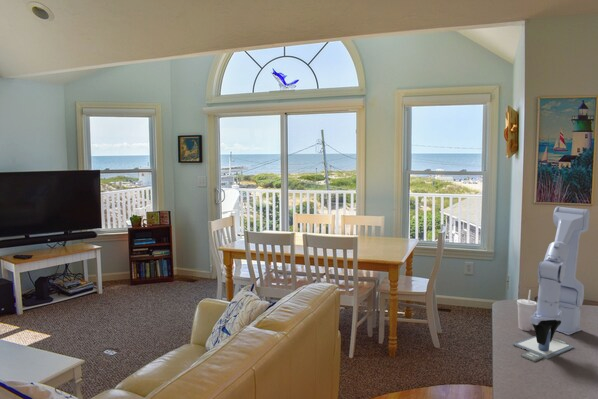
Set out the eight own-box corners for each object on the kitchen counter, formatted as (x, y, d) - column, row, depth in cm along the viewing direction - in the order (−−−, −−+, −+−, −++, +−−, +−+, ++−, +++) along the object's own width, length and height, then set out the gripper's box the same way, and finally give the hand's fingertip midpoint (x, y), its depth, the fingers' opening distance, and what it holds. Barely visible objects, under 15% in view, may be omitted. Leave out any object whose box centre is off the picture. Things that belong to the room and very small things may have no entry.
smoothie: (537, 333, 156) (541, 293, 154) (517, 331, 157) (520, 291, 156) (531, 326, 162) (535, 288, 161) (512, 324, 163) (515, 286, 162)
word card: (530, 352, 140) (530, 350, 140) (543, 357, 137) (543, 356, 137) (521, 356, 137) (521, 354, 137) (534, 361, 134) (534, 359, 134)
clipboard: (539, 335, 154) (540, 332, 154) (574, 347, 145) (574, 345, 145) (512, 345, 145) (513, 342, 145) (547, 358, 136) (547, 356, 136)
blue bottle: (541, 345, 143) (544, 324, 142) (551, 349, 141) (553, 328, 140) (536, 347, 142) (538, 326, 141) (545, 351, 139) (547, 329, 138)
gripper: (548, 307, 132) (544, 352, 134) (573, 300, 140) (569, 342, 142) (525, 300, 138) (521, 343, 139) (550, 293, 146) (546, 334, 148)
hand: (543, 342), depth 141 cm, fingers closed on blue bottle, 3 cm apart
